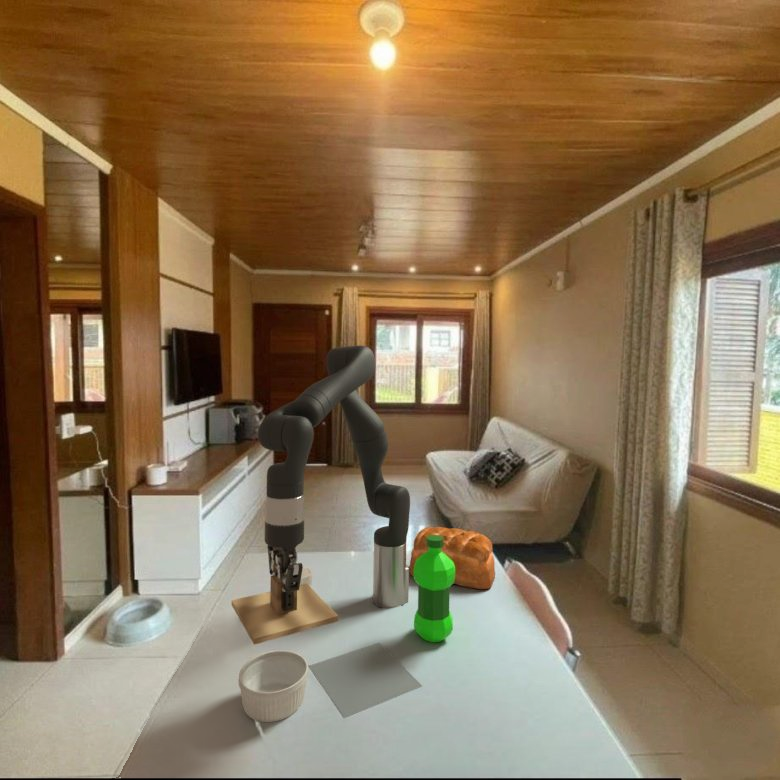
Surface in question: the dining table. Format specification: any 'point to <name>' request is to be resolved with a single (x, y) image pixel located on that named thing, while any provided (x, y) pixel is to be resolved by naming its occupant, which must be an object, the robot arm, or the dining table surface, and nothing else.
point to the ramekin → (273, 685)
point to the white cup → (306, 576)
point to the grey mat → (363, 679)
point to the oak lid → (281, 612)
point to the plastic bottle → (434, 591)
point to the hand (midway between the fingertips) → (283, 603)
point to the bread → (461, 555)
